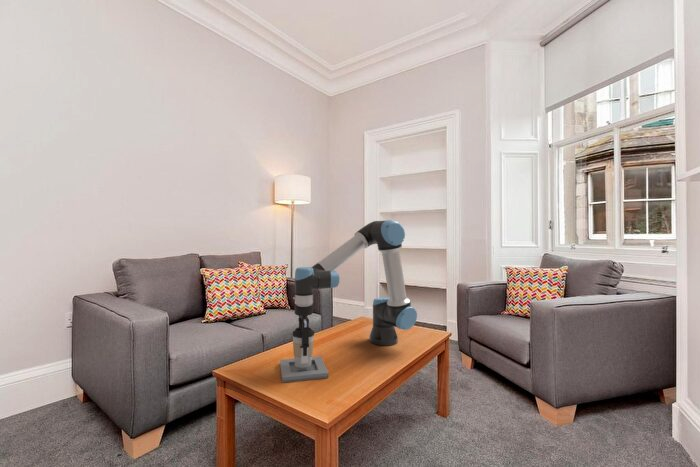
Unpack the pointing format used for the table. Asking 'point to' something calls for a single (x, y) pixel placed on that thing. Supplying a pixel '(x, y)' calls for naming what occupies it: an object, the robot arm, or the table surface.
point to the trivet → (303, 370)
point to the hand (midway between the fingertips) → (303, 358)
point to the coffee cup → (297, 350)
